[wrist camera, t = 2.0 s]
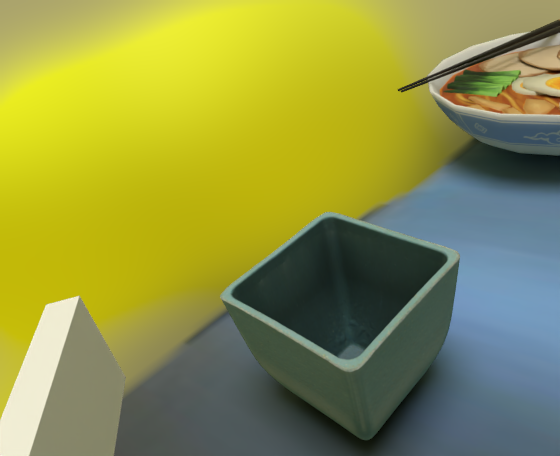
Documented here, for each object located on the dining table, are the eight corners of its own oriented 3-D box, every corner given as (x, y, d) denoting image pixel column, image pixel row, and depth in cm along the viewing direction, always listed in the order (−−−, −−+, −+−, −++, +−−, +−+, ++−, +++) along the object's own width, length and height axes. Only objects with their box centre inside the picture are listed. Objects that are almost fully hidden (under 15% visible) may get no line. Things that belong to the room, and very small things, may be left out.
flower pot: (468, 373, 28) (465, 249, 24) (379, 495, 24) (352, 373, 19) (348, 316, 34) (325, 208, 30) (258, 405, 30) (215, 295, 25)
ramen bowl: (547, 242, 36) (556, 139, 32) (379, 147, 55) (370, 75, 50) (784, 126, 41) (820, 24, 37) (556, 75, 60) (562, 4, 55)
